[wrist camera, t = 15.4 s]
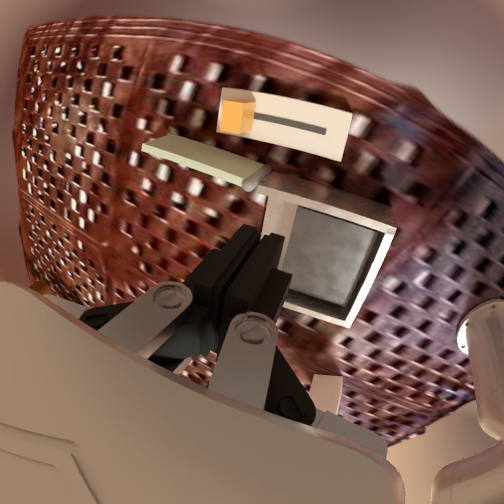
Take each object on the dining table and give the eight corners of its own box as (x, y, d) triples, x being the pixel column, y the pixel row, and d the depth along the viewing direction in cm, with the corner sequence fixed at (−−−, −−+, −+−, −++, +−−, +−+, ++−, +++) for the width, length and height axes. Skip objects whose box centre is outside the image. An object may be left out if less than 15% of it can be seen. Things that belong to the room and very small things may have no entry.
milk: (315, 389, 58) (287, 479, 40) (314, 373, 55) (283, 470, 37) (342, 391, 55) (319, 484, 38) (343, 375, 53) (319, 476, 35)
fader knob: (256, 101, 31) (244, 103, 28) (251, 129, 33) (239, 134, 30) (237, 98, 32) (223, 100, 29) (233, 126, 34) (219, 130, 31)
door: (270, 175, 38) (252, 193, 32) (171, 141, 40) (140, 152, 34) (273, 166, 37) (255, 182, 31) (172, 132, 39) (141, 142, 33)
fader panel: (352, 113, 30) (352, 114, 29) (341, 158, 34) (340, 162, 32) (228, 87, 34) (221, 87, 32) (223, 129, 37) (216, 132, 35)
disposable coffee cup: (45, 275, 78) (20, 295, 68) (58, 299, 82) (35, 319, 72) (35, 274, 82) (12, 293, 72) (46, 296, 86) (25, 315, 76)
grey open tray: (391, 206, 34) (396, 228, 29) (352, 299, 43) (349, 328, 38) (274, 170, 37) (259, 185, 32) (256, 267, 46) (241, 292, 41)
